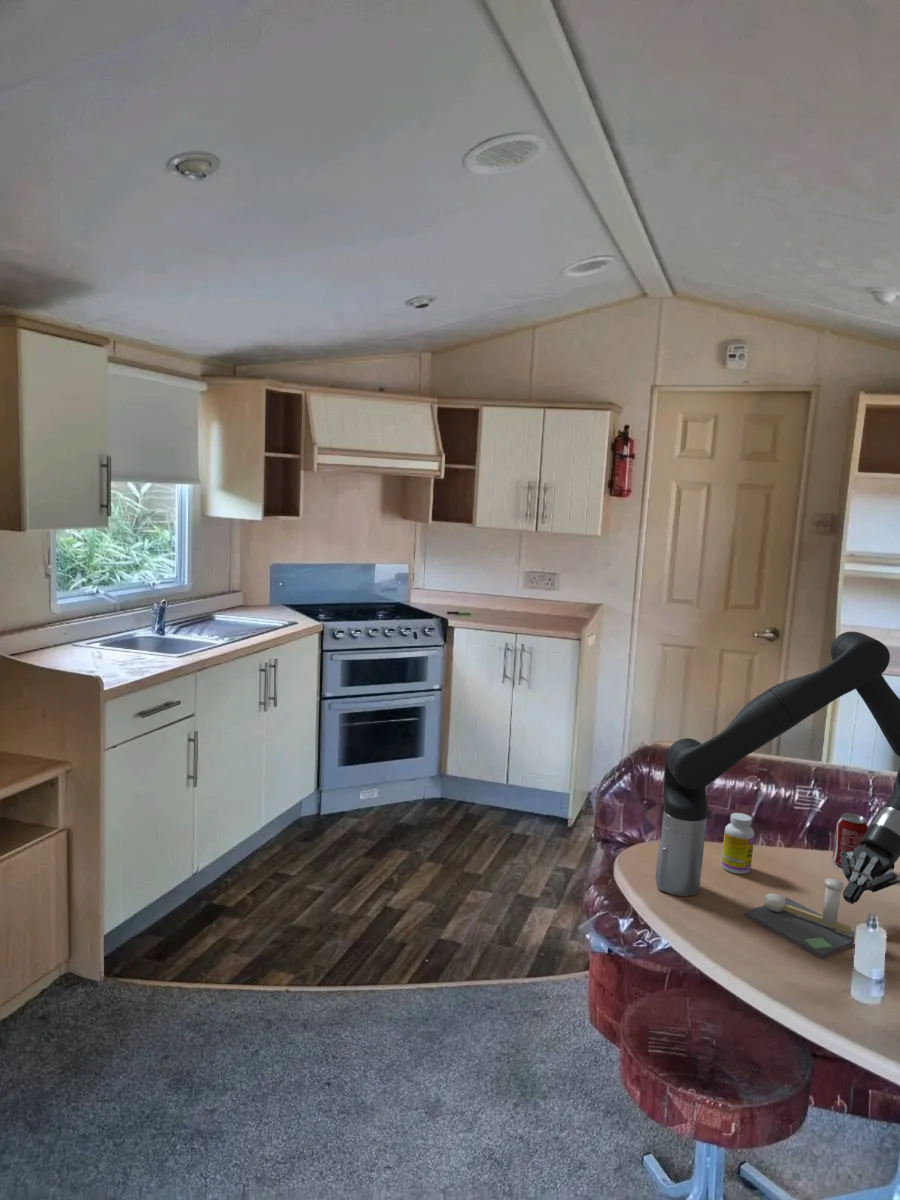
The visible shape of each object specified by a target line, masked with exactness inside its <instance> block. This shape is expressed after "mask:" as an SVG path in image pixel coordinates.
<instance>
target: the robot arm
mask: <svg viewBox="0 0 900 1200" xmlns="http://www.w3.org/2000/svg"><path fill="white" fill-rule="evenodd" d="M830 657H831V660H832V661H830V662H829V663H827V664H826V665H825V666H823V667H821V668H819V669H818V670H816V671H814V672H811V673H807V674H806V675H805V674H804V675H802V676H798V677H795V678H792V679H789V680H785V681H783V682H780V683H778V684H776V685H773V686H772V687H770V688H768V689H767V690H764V692H762V693H761V694H759V695H757V696H755V697H754V698H752V700H750V701H749V702H748V703H747V704H745V705H744V707H743V708H742V709H740V711H739V712H738V713H737V714H736V716H735V717H734V719H732V721H731V722H730V723H729V724H728V725H727V726H726V728H724V730H721V732H719V733H718V734H716V735H715V736H713V737H711V738H710V739H708V740H706V741H705V742H703V743H701V742H700V741H698V740H697V739H694V738H690V737H689V738H688V737H686V738H685V737H684V738H680V739H679V740H677V741H675V742H674V743H672V745H670V747H669V749H668V750H667V753H666V757H665V763H664V774H663V775H664V777H663V799H664V800H663V802H664V805H663V806H664V807H663V816H662V817H663V818H662V825H661V826H662V827H661V834H660V835H661V836H660V838H659V840H658V849H657V859H656V869H655V882H656V887H657V890H658V891H660V892H661V891H662V892H664V893H665V892H666V893H667V894H668V893H669V894H670V895H673V896H674V895H675V896H679V897H691V896H696V895H697V894H698V893H699V892H700V888H701V882H702V881H701V879H702V877H701V876H702V868H703V861H704V860H703V857H704V851H705V850H704V848H705V840H706V830H707V820H708V811H709V810H708V809H709V805H708V798H707V793H706V792H707V791H706V787H707V786H709V785H710V784H712V783H714V782H715V780H717V779H718V778H719V777H721V776H722V775H723V774H725V773H726V772H727V771H728V770H729V769H730V768H731V767H733V766H734V765H736V764H737V763H738V762H740V761H741V760H743V759H745V758H746V757H747V756H748V755H750V754H752V753H754V752H755V751H758V750H759V749H761V748H762V747H763V746H765V745H766V744H767V743H769V742H771V741H772V740H774V739H776V738H778V737H780V736H781V735H783V734H784V733H786V732H788V731H789V730H790V729H792V728H794V727H795V726H797V725H798V724H800V723H801V722H802V721H805V720H806V719H807V718H809V717H810V716H812V715H814V714H816V713H818V711H820V710H821V709H823V708H824V707H826V706H828V705H829V704H831V703H832V702H834V701H835V700H837V699H839V698H840V697H842V696H845V695H846V694H849V693H850V692H852V691H854V690H855V691H856V692H857V693H858V695H859V696H860V697H861V699H862V700H863V702H864V704H865V705H866V707H867V708H868V710H869V712H870V713H871V715H872V717H873V718H874V720H875V722H876V723H877V725H878V727H879V729H880V731H881V733H882V734H883V735H884V737H885V740H886V741H887V743H888V744H889V746H890V748H891V749H892V752H893V753H894V754H895V755H896V756H897V757H899V758H900V697H899V696H898V695H897V694H896V693H895V692H894V690H893V688H891V686H890V685H889V684H888V682H887V681H886V679H885V677H884V676H883V673H885V671H886V670H887V668H888V666H889V664H890V662H891V661H890V659H891V653H890V650H889V649H888V647H887V646H886V645H885V644H884V643H883V642H881V641H879V640H877V639H875V638H874V637H871V636H869V635H867V634H865V633H862V632H858V631H845V632H843V633H841V634H839V635H837V637H835V639H834V640H833V642H832V643H831V647H830ZM840 857H841V862H842V867H841V868H842V871H843V872H842V873H843V875H844V876H845V878H846V880H847V882H848V883H847V885H846V887H845V888H844V890H843V891H842V896H843V897H842V898H843V900H845V902H846V903H849V904H851V905H854V904H856V903H858V901H860V899H861V897H862V895H863V893H864V892H865V891H870V892H872V893H876V892H879V891H881V890H883V889H887V888H889V887H891V886H894V885H897V884H898V883H900V879H899V876H898V875H897V873H895V871H894V869H895V863H896V862H897V861H898V860H899V858H900V766H899V767H898V770H897V773H896V777H895V781H894V785H893V790H892V793H891V794H890V796H889V798H888V800H887V801H886V803H885V804H884V806H883V808H882V809H881V810H880V811H879V813H878V814H877V815H876V816H875V818H874V820H872V823H871V824H870V825H869V827H868V831H867V832H866V834H865V835H864V837H863V839H862V840H861V843H860V845H859V846H858V847H856V848H855V849H854V851H853V852H847V853H846V852H845V851H841V852H840ZM853 858H854V860H855V867H854V869H853V870H852V869H851V864H850V863H852V862H853Z"/></svg>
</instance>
